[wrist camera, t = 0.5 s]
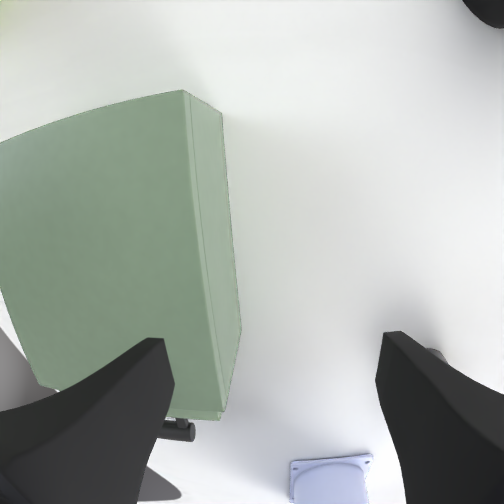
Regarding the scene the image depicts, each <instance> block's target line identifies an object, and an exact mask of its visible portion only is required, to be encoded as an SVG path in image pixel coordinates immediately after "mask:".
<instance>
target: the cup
mask: <svg viewBox="0 0 504 504" xmlns="http://www.w3.org/2000/svg"><path fill="white" fill-rule="evenodd" d="M463 2H464V3H465V4H466V6H467V7H468V8H469V9H470V10H471V11H472V13H474V14H475V15H476V16H477V17H478V18H479V19H480V20H482V21H483V22H485V23H486V24H488V25H490V26H492V27H494V28H499V29H502V28H504V0H463Z"/></svg>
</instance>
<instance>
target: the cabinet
mask: <svg viewBox="0 0 504 504" xmlns="http://www.w3.org/2000/svg"><path fill="white" fill-rule="evenodd" d="M0 289H1V292H2V295H3V298H4V301H5V304H6V307H7V310H8V313H9V315H10V318H11V321H12V324H13V326H14V329H15V331H16V334H17V336H18V339H19V341H20V344H21V346H22V348H23V351H24V353H25V355H26V357H27V360H28V362H29V364H30V366H31V368H32V370H33V372H34V375H35V377H36V378H37V381H38V383H39V385H41V386H45V387H49V388H53V389H57V390H61V391H62V390H64V389H67V388H69V387H70V386H72V385H74V384H76V383H78V382H80V381H81V380H83V379H85V378H86V377H88V376H90V375H91V374H93V373H94V372H96V371H98V370H99V369H101V368H102V367H104V366H105V365H107V364H108V363H110V362H111V361H113V360H114V359H116V358H117V357H119V356H120V355H121V354H123V353H124V352H126V351H127V350H129V349H130V348H131V347H133V346H134V345H136V344H137V343H139V342H140V341H142V340H144V339H145V338H147V337H151V338H164V341H165V346H166V350H167V354H168V358H169V362H170V366H171V370H172V374H173V378H174V381H175V387H174V391H173V396H172V400H171V403H170V407H169V408H170V409H180V410H193V411H209V412H225V408H226V403H227V399H228V394H229V389H230V384H231V379H232V374H233V369H234V364H235V359H236V354H237V349H238V345H239V340H240V334H241V321H240V311H239V301H238V292H237V282H236V271H235V261H234V251H233V240H232V230H231V219H230V208H229V196H228V185H227V173H226V161H225V149H224V137H223V124H222V113H221V112H219V111H218V110H216V109H214V108H213V107H211V106H209V105H208V104H206V103H205V102H203V101H201V100H200V99H198V98H196V97H195V96H193V95H191V94H190V93H188V92H186V91H184V90H177V91H171V92H166V93H161V94H156V95H151V96H146V97H141V98H137V99H132V100H128V101H124V102H120V103H116V104H112V105H108V106H104V107H101V108H97V109H93V110H90V111H87V112H83V113H80V114H77V115H73V116H70V117H67V118H64V119H61V120H58V121H55V122H52V123H49V124H46V125H44V126H41V127H38V128H35V129H33V130H30V131H28V132H25V133H23V134H20V135H18V136H15V137H13V138H10V139H8V140H6V141H3V142H1V143H0Z"/></svg>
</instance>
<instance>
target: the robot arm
mask: <svg viewBox="0 0 504 504" xmlns="http://www.w3.org/2000/svg"><path fill="white" fill-rule="evenodd" d="M375 382H376V387H377V392H378V397H379V401H380V406H381V409H382V412H383V414H384V417H385V420H386V423H387V426H388V429H389V432H390V434H391V437H392V440H393V443H394V446H395V449H396V452H397V455H398V459H399V462H400V466H401V471H402V477H403V483H404V489H405V496H406V504H504V394H501V393H499V392H496V391H494V390H492V389H490V388H488V387H486V386H484V385H482V384H480V383H478V382H476V381H474V380H472V379H471V378H469V377H467V376H465V375H464V374H462V373H461V372H459V371H457V370H456V369H454V368H453V367H451V366H450V365H448V364H447V363H445V362H444V361H442V360H441V359H439V358H438V357H437V356H435V355H434V354H432V353H431V352H430V351H428V350H427V349H426V348H424V347H423V346H422V345H420V344H419V343H417V342H416V341H415V340H413V339H412V338H411V337H409V336H408V335H406V334H405V333H403V332H402V331H394V332H384V333H383V339H382V345H381V351H380V357H379V363H378V368H377V373H376V378H375ZM174 387H175V381H174V378H173V374H172V370H171V366H170V362H169V358H168V354H167V350H166V346H165V341H164V338H151V337H147V338H145V339H144V340H142V341H140V342H139V343H137V344H136V345H134V346H133V347H131V348H130V349H129V350H127V351H126V352H124V353H123V354H121V355H120V356H119V357H117V358H116V359H114V360H113V361H111V362H110V363H108V364H107V365H105V366H104V367H102V368H101V369H99V370H98V371H96V372H94V373H93V374H91V375H90V376H88V377H86V378H85V379H83V380H81V381H80V382H78V383H76V384H74V385H72V386H70V387H69V388H67V389H64V390H62V391H60V392H58V393H56V394H54V395H52V396H49V397H47V398H44V399H41V400H39V401H36V402H34V403H31V404H28V405H24V406H21V407H18V408H14V409H10V410H6V411H1V412H0V504H137V501H138V496H139V491H140V487H141V483H142V479H143V475H144V471H145V468H146V465H147V462H148V459H149V456H150V454H151V451H152V449H153V447H154V444H155V442H156V439H157V437H158V435H159V432H160V430H161V427H162V425H163V423H164V420H165V418H166V415H167V413H168V410H169V407H170V403H171V400H172V396H173V391H174ZM372 461H373V455H372V454H366V455H359V456H351V457H342V458H333V459H321V460H306V461H293V462H292V463H291V468H290V503H294V504H369V499H368V494H367V488H366V482H365V479H366V477H367V474H368V472H369V469H370V466H371V463H372Z"/></svg>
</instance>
